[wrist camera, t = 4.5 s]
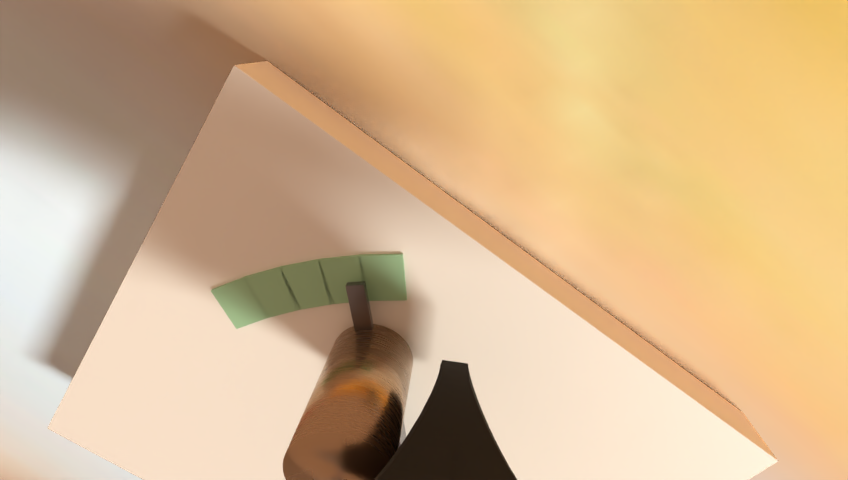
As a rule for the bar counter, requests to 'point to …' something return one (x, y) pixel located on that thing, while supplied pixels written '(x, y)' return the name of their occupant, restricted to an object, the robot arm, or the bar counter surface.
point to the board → (390, 306)
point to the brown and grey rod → (354, 402)
